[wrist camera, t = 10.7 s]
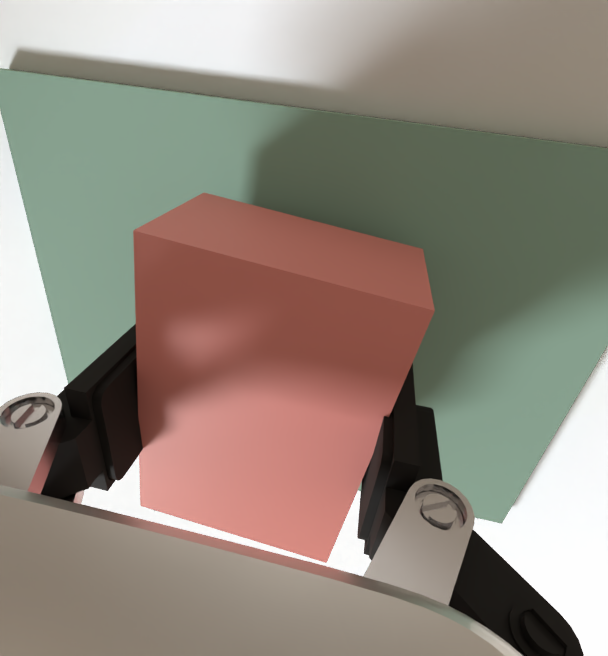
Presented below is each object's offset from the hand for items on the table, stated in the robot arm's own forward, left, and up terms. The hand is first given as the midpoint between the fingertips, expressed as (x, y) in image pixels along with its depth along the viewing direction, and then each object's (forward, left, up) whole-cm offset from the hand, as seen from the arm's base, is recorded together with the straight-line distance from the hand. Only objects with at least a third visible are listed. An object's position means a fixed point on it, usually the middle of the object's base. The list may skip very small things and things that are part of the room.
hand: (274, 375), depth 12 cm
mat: (0, 0, -3) cm, 3 cm away
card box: (0, 0, -1) cm, 1 cm away
